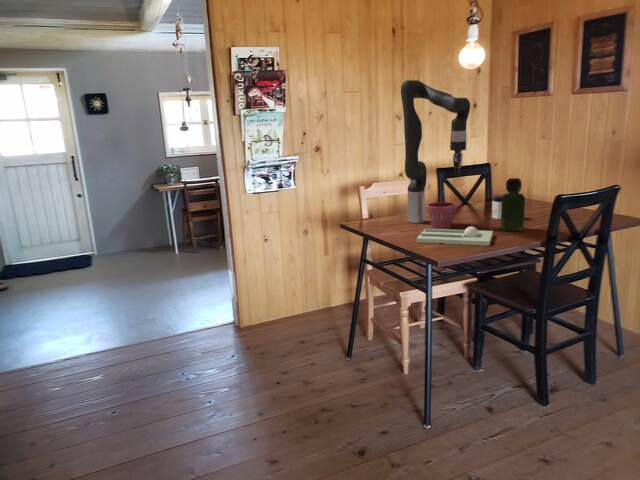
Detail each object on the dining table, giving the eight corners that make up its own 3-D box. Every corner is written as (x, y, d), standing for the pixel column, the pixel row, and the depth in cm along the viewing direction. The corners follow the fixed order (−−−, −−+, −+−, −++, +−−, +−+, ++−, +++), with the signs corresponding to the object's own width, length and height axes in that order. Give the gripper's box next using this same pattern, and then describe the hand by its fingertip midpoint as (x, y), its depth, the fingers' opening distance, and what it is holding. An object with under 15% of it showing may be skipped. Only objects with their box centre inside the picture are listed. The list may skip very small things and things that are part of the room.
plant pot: (421, 228, 247) (421, 204, 244) (443, 224, 253) (443, 200, 250) (438, 233, 235) (438, 207, 232) (461, 229, 240) (461, 204, 237)
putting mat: (416, 242, 220) (416, 236, 219) (425, 232, 237) (425, 226, 237) (489, 245, 207) (489, 239, 206) (492, 235, 224) (492, 228, 224)
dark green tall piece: (500, 231, 230) (502, 180, 224) (500, 227, 239) (502, 177, 233) (523, 232, 226) (526, 180, 220) (523, 227, 235) (525, 177, 229)
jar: (488, 217, 263) (489, 196, 260) (500, 215, 266) (500, 194, 263) (500, 219, 255) (501, 198, 252) (512, 218, 258) (513, 196, 255)
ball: (480, 234, 214) (469, 242, 216) (481, 233, 220) (470, 241, 222) (472, 224, 215) (461, 232, 217) (472, 223, 221) (462, 231, 223)
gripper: (452, 139, 237) (451, 174, 242) (448, 141, 226) (447, 177, 230) (468, 139, 234) (467, 174, 239) (464, 141, 223) (462, 177, 227)
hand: (457, 175), depth 234 cm, fingers closed
